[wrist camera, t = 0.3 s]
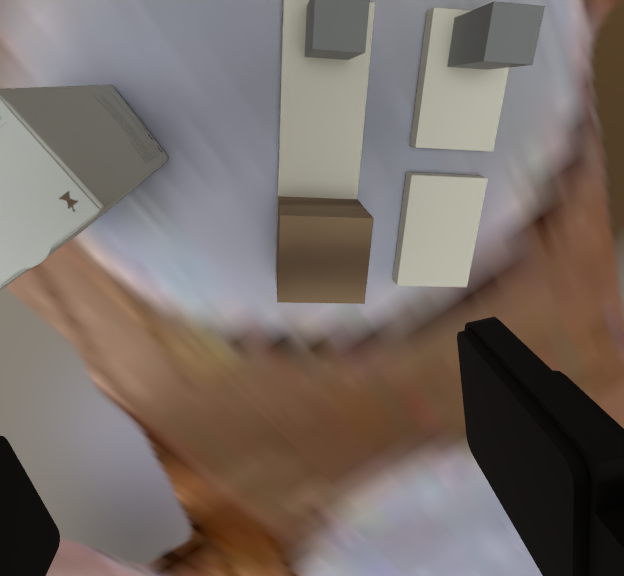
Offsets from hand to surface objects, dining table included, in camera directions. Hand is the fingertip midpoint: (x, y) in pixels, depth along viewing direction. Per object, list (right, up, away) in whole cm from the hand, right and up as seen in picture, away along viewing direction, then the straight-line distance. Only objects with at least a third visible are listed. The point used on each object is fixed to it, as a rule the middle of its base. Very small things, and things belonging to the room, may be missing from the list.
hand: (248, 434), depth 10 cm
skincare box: (-14, +13, +25) cm, 32 cm away
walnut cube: (+2, +7, +27) cm, 28 cm away
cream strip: (+2, +13, +26) cm, 29 cm away
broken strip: (+12, +13, +27) cm, 32 cm away
